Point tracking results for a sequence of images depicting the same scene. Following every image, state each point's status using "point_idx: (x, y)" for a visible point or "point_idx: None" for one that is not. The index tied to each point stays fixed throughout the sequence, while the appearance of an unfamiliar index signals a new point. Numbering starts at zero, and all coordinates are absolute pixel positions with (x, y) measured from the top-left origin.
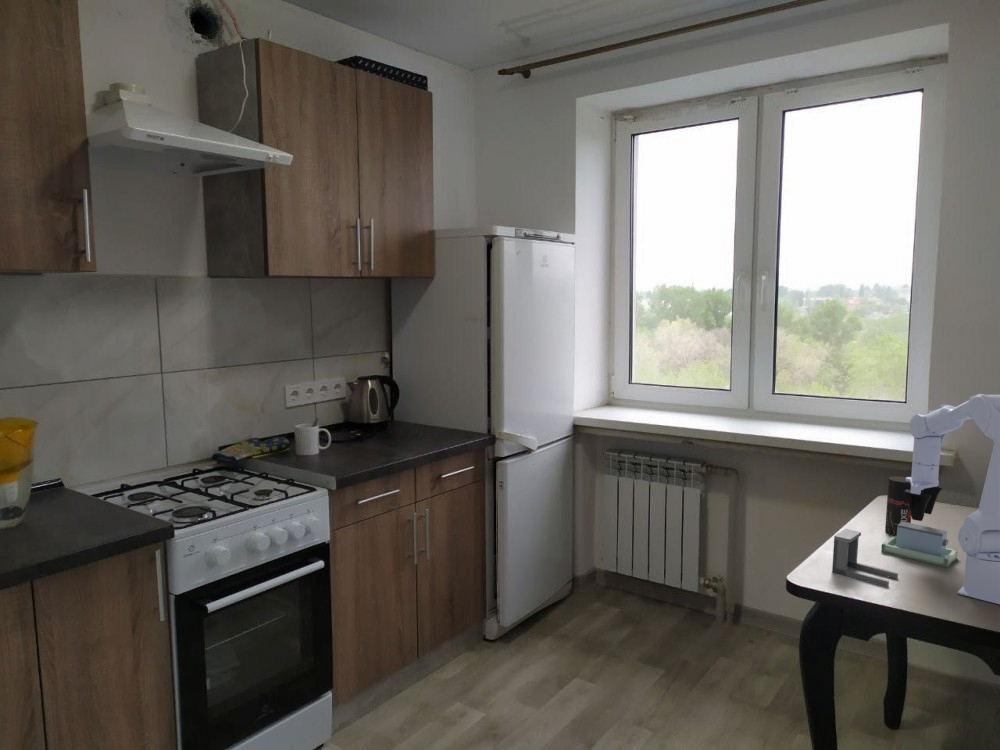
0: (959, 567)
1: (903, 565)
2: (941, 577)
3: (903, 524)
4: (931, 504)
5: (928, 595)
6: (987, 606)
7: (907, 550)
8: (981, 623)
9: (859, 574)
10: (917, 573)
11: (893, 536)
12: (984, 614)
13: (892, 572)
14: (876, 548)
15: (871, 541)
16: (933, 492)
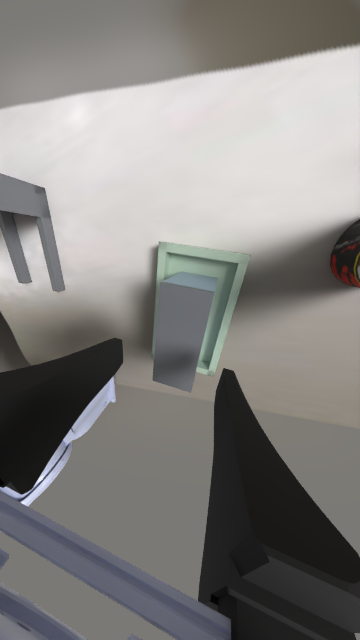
0: None
1: (121, 292)
2: None
3: (177, 299)
4: (215, 429)
5: (48, 326)
6: None
7: (155, 298)
8: (33, 363)
9: (4, 237)
10: (103, 313)
11: (247, 257)
12: None
13: (52, 283)
14: (184, 226)
15: (238, 197)
16: (210, 522)
